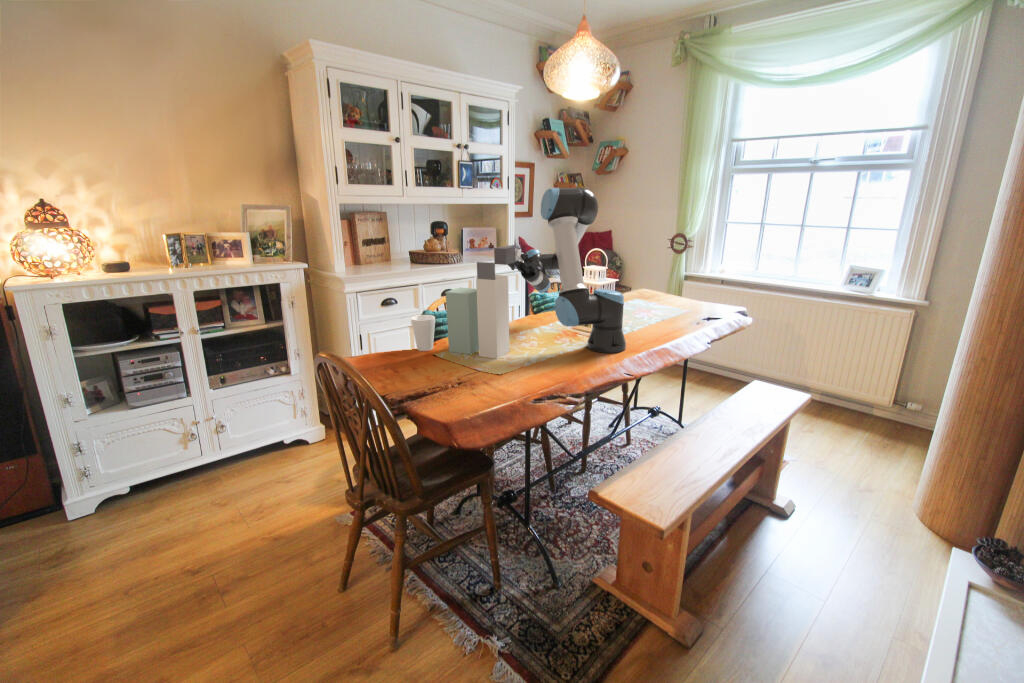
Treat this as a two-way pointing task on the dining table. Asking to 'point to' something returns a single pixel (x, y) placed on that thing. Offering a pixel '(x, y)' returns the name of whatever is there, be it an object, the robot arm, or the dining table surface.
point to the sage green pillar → (462, 320)
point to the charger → (505, 255)
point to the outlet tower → (492, 311)
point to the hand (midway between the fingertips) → (510, 251)
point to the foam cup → (423, 331)
